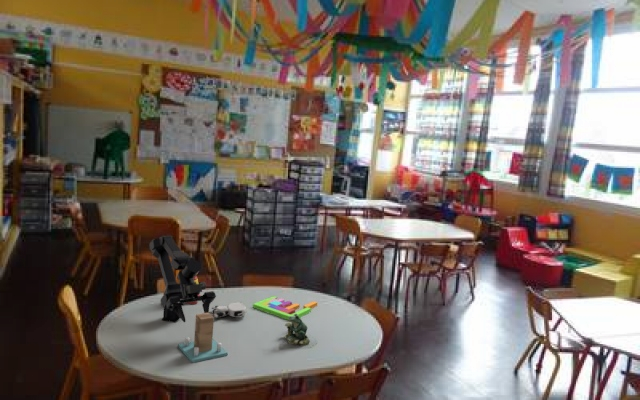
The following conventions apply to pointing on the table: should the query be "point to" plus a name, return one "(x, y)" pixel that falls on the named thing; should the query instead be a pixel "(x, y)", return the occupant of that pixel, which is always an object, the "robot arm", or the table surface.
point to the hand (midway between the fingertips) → (196, 320)
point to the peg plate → (196, 356)
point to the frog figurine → (297, 331)
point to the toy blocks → (282, 307)
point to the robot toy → (230, 310)
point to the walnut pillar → (203, 331)
